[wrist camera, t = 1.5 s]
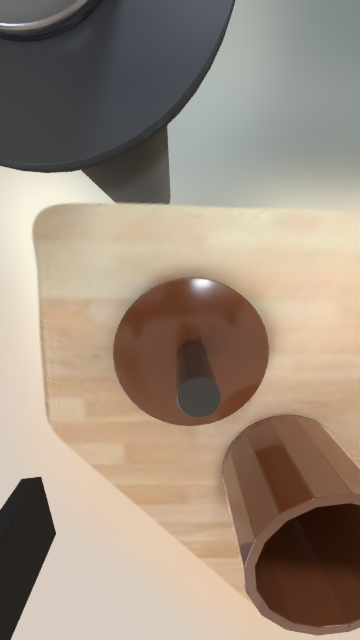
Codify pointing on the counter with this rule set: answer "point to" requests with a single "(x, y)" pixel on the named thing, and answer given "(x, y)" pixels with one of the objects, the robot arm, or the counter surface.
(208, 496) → the counter surface
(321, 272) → the counter surface
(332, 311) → the counter surface
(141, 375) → the crock lid
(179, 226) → the counter surface
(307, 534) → the crock
